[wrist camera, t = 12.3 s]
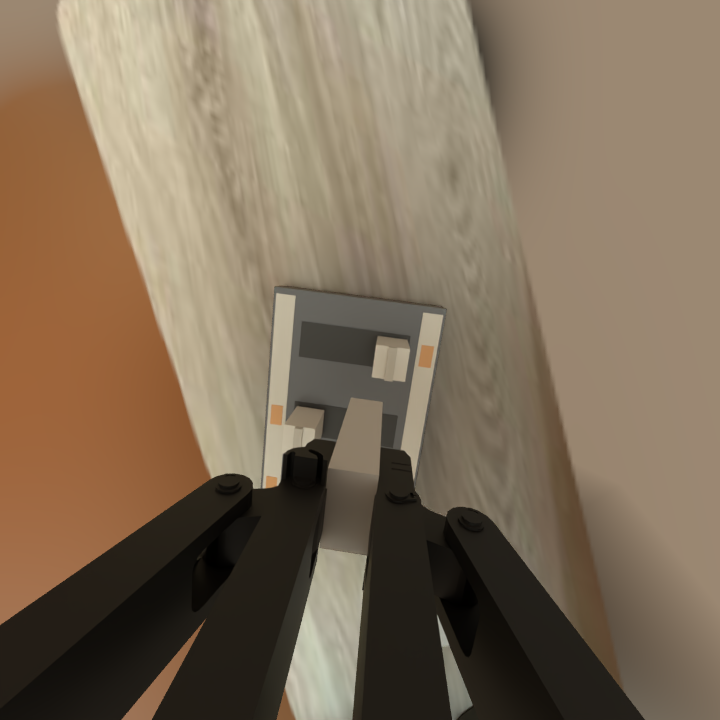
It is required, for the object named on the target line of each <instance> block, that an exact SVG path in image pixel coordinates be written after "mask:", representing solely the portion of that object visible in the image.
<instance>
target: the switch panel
mask: <svg viewBox="0 0 720 720" xmlns="http://www.w3.org/2000/svg"><path fill="white" fill-rule="evenodd" d="M446 311H447V309H446V308H444V307H442V306H435V305H427V304H419V303H412V302H404V301H396V300H389V299H381V298H373V297H366V296H358V295H350V294H343V293H335V292H327V291H320V290H312V289H304V288H297V287H289V286H277V287H275V288H274V303H273V317H272V332H271V347H270V361H269V376H268V390H267V405H266V420H265V434H264V449H263V463H262V478H261V488H272V487H275V486H278V485H279V483H280V481H281V479H282V468H283V455H284V454H283V453H282V442H283V430H284V424H285V422H286V421H287V419H288V418H289V417H290V415H291V414H292V412H293V411H294V410H295V408H296V407H297V406H300V407H307V408H313V409H320V410H324V420H323V429H322V436H321V440H328V441H335V442H337V439H338V436H339V433H340V430H341V427H342V424H343V421H344V418H345V415H346V411H347V408H348V405H349V402H350V399H351V398H358V399H365V400H373V401H380V402H383V407H382V427H381V447H383V448H390V449H397V450H404V451H405V452H406V453H407V454H408V455H409V456H410V458H411V464H412V473H413V480H414V488H415V484H416V479H417V473H418V468H419V462H420V456H421V451H422V445H423V440H424V434H425V428H426V423H427V417H428V412H429V406H430V401H431V395H432V389H433V384H434V378H435V373H436V367H437V361H438V356H439V350H440V345H441V339H442V333H443V328H444V322H445V317H446ZM378 336H383V337H390V338H398V339H405V340H408V344H409V347H410V354H409V360H408V366H407V373H406V379H405V382H401V381H394V380H393V382H390V381H384V379H380V378H373V377H372V371H373V363H374V356H375V349H376V342H377V337H378Z"/></svg>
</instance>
